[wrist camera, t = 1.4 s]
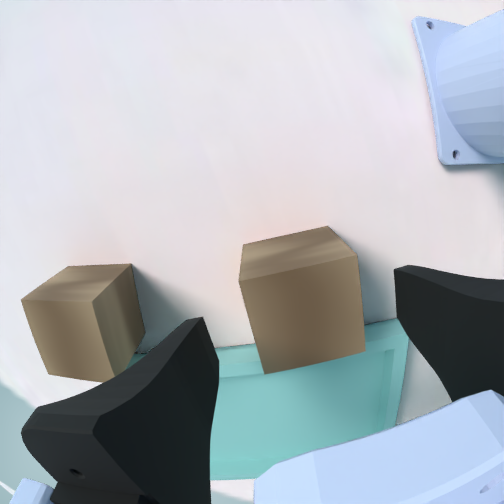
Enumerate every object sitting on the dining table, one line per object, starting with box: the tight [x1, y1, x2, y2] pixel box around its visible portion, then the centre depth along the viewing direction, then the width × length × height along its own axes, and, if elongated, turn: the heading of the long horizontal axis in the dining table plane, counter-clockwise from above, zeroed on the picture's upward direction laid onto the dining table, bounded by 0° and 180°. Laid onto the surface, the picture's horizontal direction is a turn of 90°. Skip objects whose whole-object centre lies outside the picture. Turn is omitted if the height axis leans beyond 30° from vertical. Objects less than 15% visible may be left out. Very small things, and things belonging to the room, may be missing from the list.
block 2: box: [239, 226, 366, 375], centre depth 13 cm, size 4×4×4 cm
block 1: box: [21, 264, 145, 383], centre depth 13 cm, size 4×4×4 cm
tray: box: [125, 318, 409, 480], centre depth 17 cm, size 16×11×2 cm
